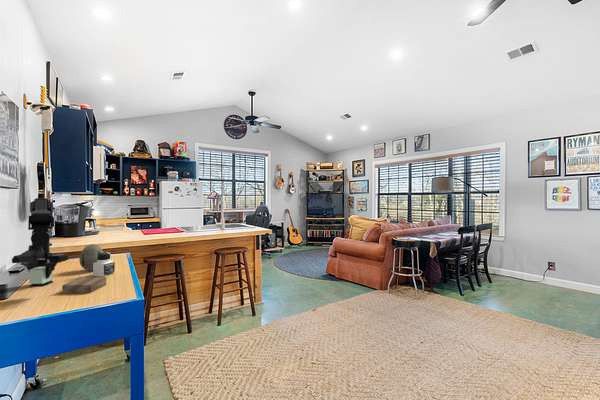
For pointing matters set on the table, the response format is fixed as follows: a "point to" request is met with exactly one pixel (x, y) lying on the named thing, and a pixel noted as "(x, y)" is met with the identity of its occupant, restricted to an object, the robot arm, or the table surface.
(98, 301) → the table surface
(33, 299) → the table surface
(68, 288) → the walnut block
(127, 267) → the table surface
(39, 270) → the sage pill box
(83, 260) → the decorative egg
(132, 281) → the table surface
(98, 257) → the medicine bottle
